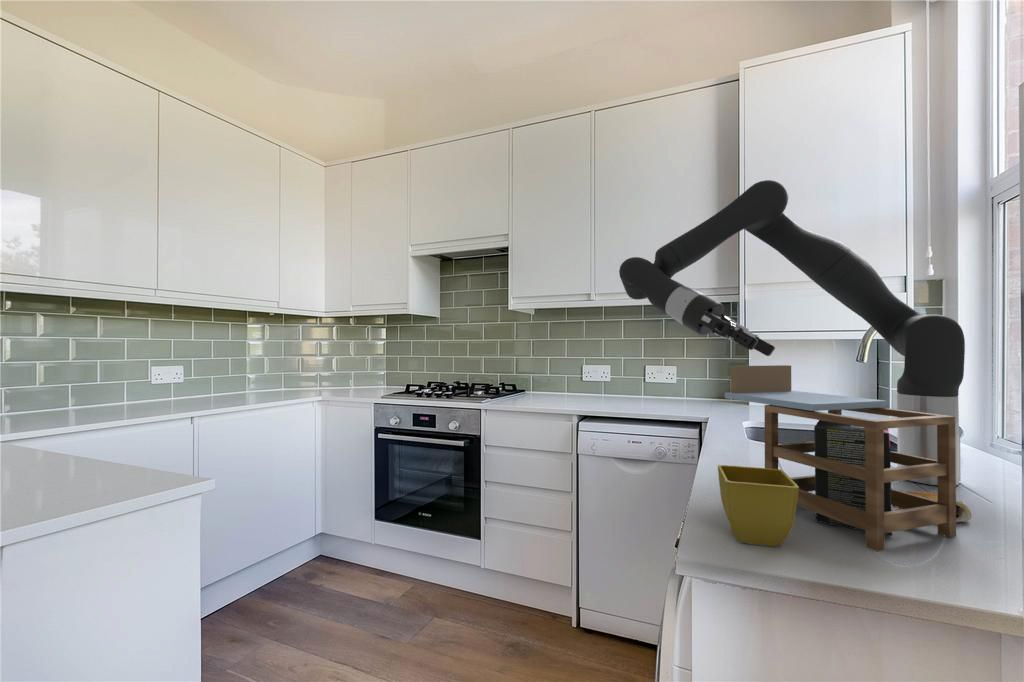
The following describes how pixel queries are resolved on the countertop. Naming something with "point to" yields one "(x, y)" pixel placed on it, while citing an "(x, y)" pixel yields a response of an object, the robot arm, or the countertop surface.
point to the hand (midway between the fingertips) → (763, 348)
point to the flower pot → (758, 503)
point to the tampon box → (849, 449)
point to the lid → (786, 390)
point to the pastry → (961, 509)
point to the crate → (875, 472)
